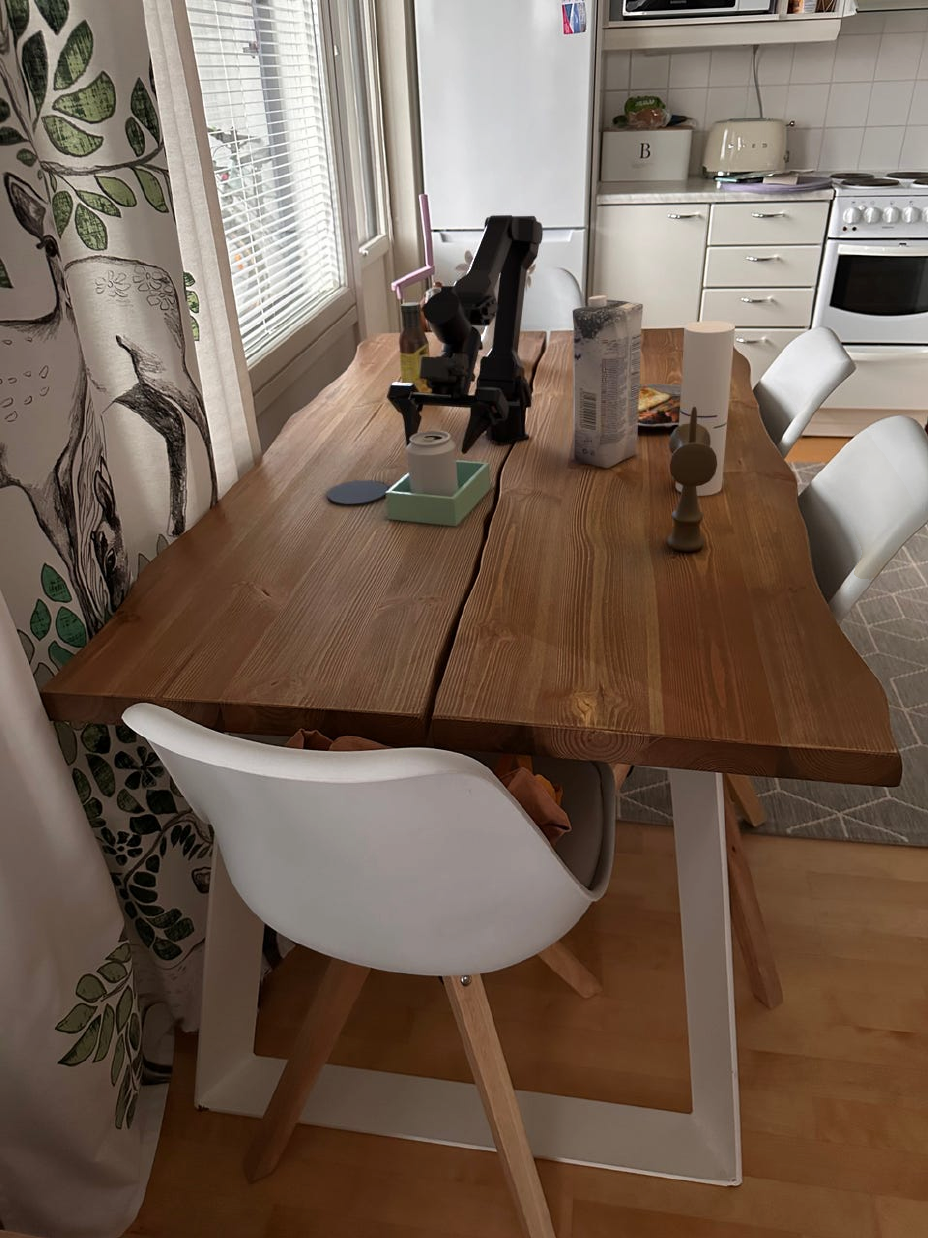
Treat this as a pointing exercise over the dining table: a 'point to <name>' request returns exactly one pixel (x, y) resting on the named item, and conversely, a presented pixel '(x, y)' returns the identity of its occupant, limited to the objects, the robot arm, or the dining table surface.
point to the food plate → (659, 405)
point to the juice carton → (606, 380)
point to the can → (432, 464)
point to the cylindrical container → (708, 387)
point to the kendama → (690, 480)
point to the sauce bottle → (413, 346)
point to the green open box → (440, 497)
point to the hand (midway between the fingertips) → (435, 450)
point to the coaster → (357, 493)
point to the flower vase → (489, 330)
